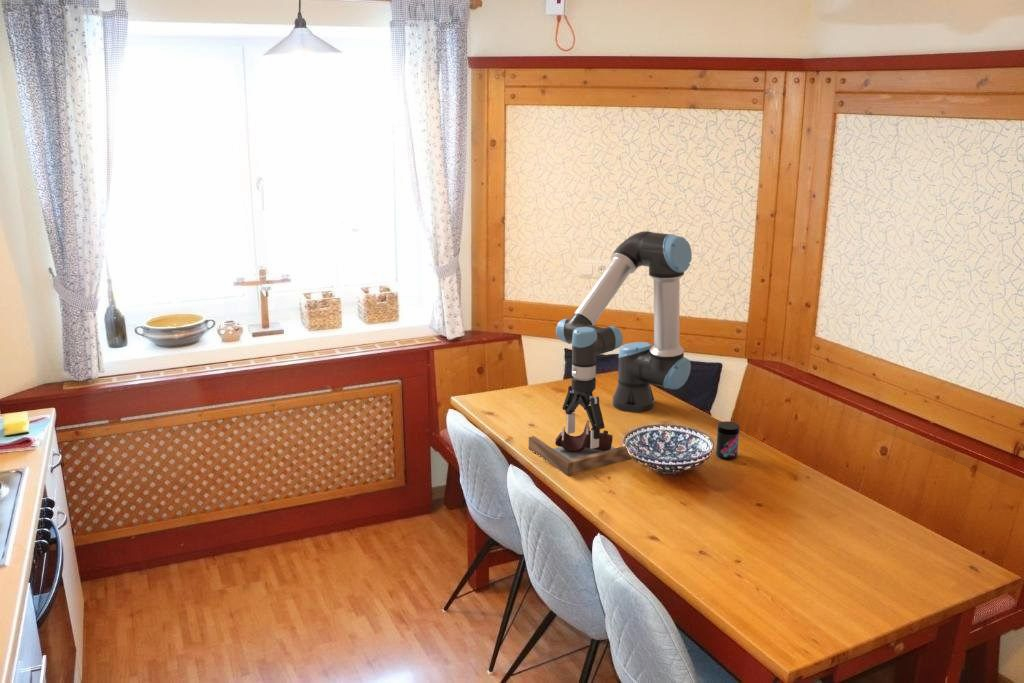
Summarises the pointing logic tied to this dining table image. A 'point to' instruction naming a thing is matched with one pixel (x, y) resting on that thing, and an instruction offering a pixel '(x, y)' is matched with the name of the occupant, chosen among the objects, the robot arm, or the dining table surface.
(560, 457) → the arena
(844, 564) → the dining table surface
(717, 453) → the supplement container
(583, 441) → the bracket
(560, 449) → the mat
